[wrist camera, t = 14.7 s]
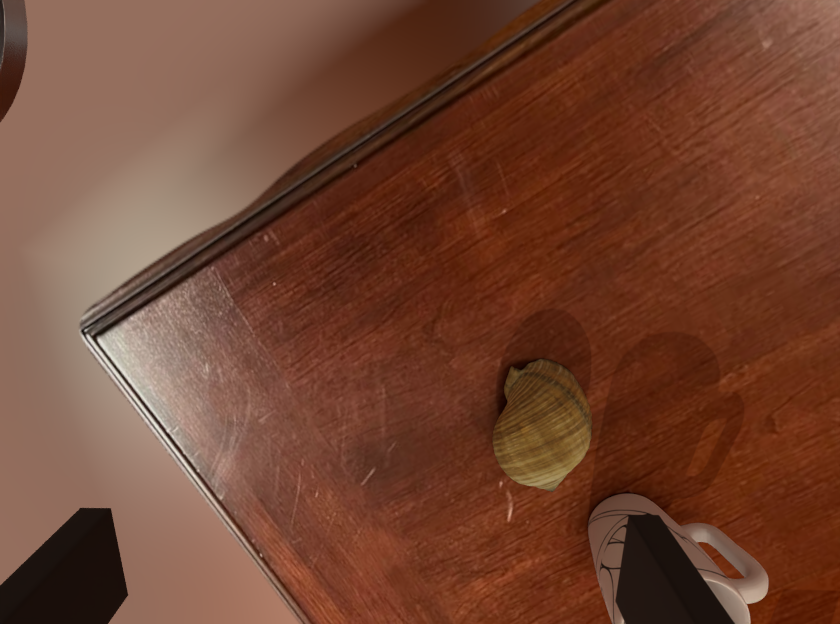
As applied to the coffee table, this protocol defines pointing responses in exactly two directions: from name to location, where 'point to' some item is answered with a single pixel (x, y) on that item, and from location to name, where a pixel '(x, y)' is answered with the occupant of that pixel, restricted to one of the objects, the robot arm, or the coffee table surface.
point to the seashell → (542, 425)
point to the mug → (731, 593)
